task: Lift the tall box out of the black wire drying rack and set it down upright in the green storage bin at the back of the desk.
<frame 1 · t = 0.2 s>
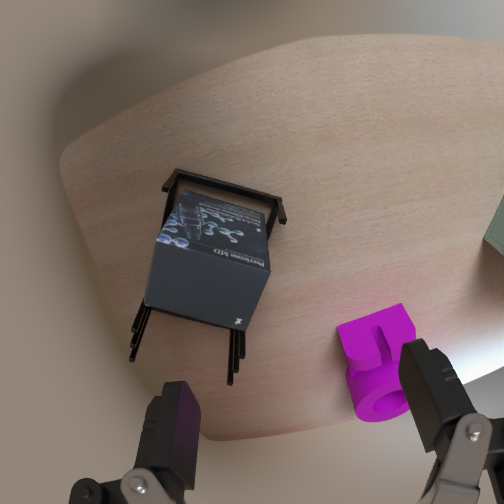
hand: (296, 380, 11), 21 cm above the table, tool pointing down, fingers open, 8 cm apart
magenta mechanical bracket: (376, 354, 40), on the table
box: (216, 225, 31), resting in rack
rack: (207, 256, 32), on the table
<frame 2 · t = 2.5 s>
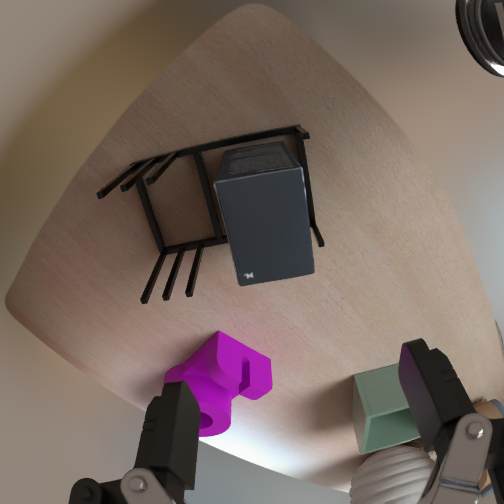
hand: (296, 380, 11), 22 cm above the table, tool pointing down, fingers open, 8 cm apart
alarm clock: (467, 415, 56), on the table
magenta mechanical bracket: (210, 374, 43), on the table
table lamp: (386, 454, 61), on the table
green storage bin: (391, 389, 46), on the table
box: (260, 183, 30), resting in rack
rack: (224, 191, 30), on the table
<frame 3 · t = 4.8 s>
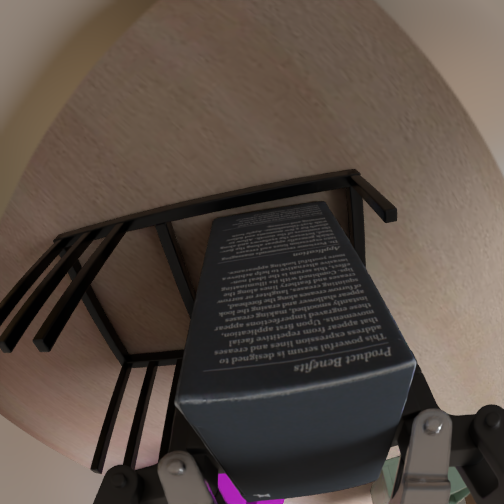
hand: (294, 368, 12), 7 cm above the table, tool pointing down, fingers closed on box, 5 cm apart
magenta mechanical bracket: (205, 470, 30), on the table
green storage bin: (419, 464, 34), on the table
box: (279, 272, 17), resting in rack, touching gripper
rack: (215, 285, 18), on the table
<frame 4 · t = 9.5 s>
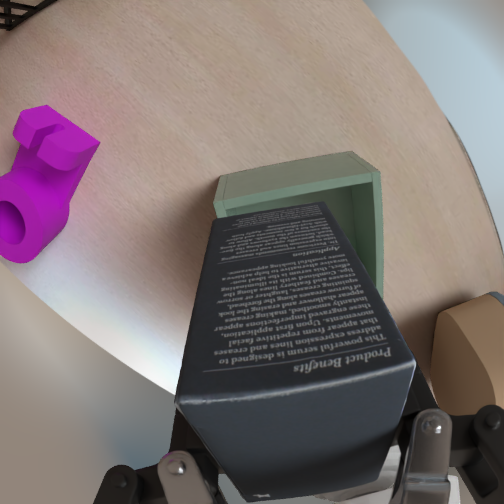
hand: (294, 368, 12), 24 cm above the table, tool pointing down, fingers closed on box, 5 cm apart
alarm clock: (454, 329, 44), on the table
magenta mechanical bracket: (45, 180, 31), on the table
table lamp: (338, 388, 49), on the table
green storage bin: (297, 222, 35), on the table
box: (279, 272, 17), point 17 cm above the table, touching gripper
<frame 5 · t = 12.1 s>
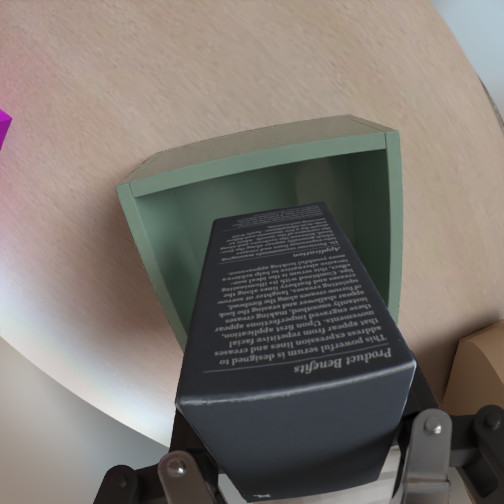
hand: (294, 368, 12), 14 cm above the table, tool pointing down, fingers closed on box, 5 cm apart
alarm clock: (474, 357, 33), on the table
table lamp: (330, 427, 38), on the table
green storage bin: (271, 221, 24), on the table
box: (279, 272, 17), point 7 cm above the table, touching gripper
when the fingers open (7 cm above the table, at t = 14.1 s): box stays where it is, resting on green storage bin.
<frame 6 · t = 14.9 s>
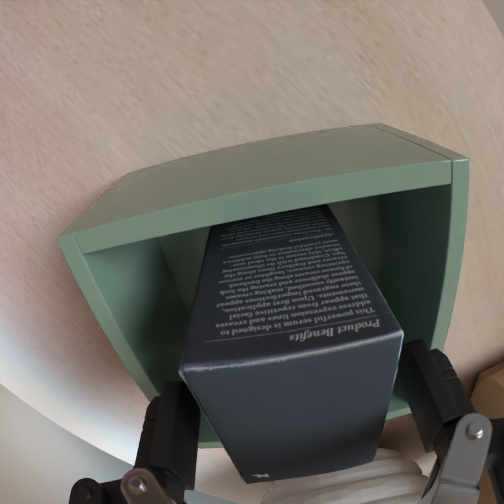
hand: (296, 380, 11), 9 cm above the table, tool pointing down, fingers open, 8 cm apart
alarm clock: (492, 387, 28), on the table
table lamp: (336, 461, 33), on the table
green storage bin: (276, 258, 19), on the table
box: (277, 262, 18), point 1 cm above the table, touching green storage bin
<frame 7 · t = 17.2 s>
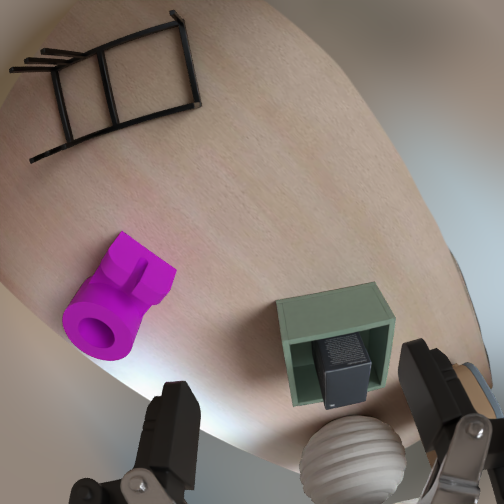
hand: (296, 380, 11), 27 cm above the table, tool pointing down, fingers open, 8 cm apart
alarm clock: (437, 385, 55), on the table
magenta mechanical bracket: (120, 290, 41), on the table
table lamp: (344, 428, 59), on the table
green storage bin: (328, 328, 45), on the table
box: (329, 331, 44), point 1 cm above the table, touching green storage bin
rack: (121, 82, 29), on the table
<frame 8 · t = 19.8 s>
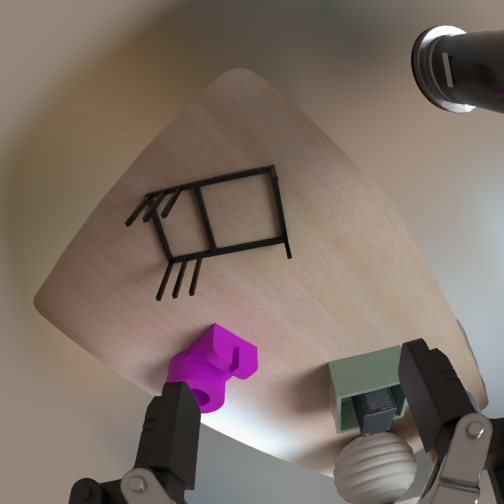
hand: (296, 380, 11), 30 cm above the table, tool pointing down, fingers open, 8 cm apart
magenta mechanical bracket: (207, 360, 53), on the table
table lamp: (367, 440, 71), on the table
green storage bin: (363, 376, 56), on the table
box: (364, 378, 56), point 1 cm above the table, touching green storage bin
rack: (217, 216, 40), on the table
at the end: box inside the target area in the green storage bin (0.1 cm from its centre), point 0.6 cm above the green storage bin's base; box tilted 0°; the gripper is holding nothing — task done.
